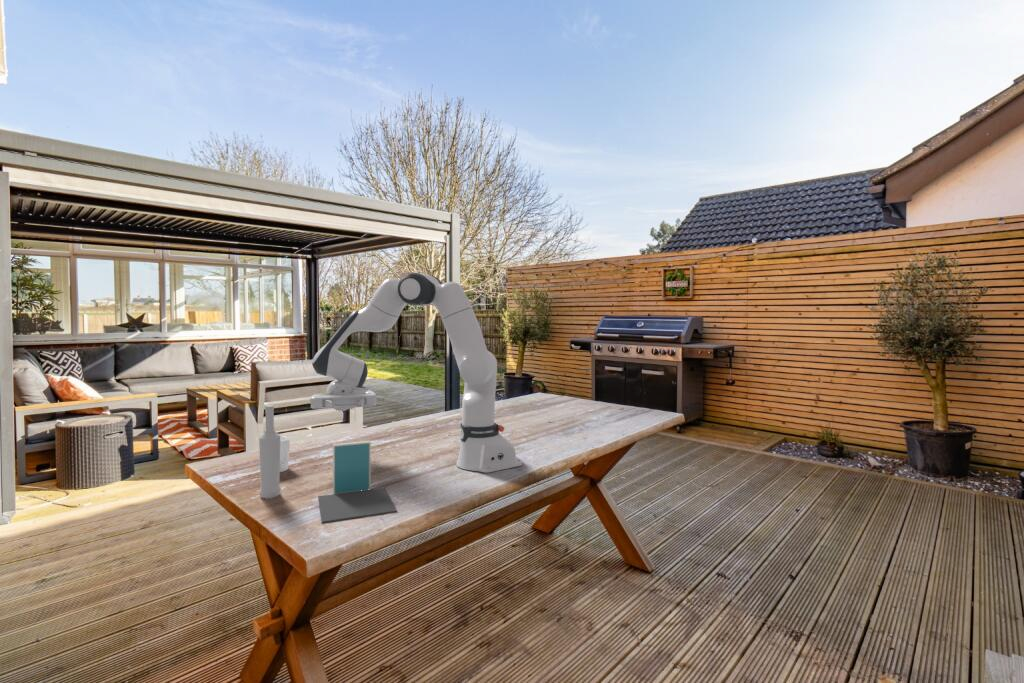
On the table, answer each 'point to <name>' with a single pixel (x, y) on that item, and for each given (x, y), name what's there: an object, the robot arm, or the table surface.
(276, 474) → the bottle
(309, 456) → the table surface
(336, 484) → the tile
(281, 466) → the white cup
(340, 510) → the mat
